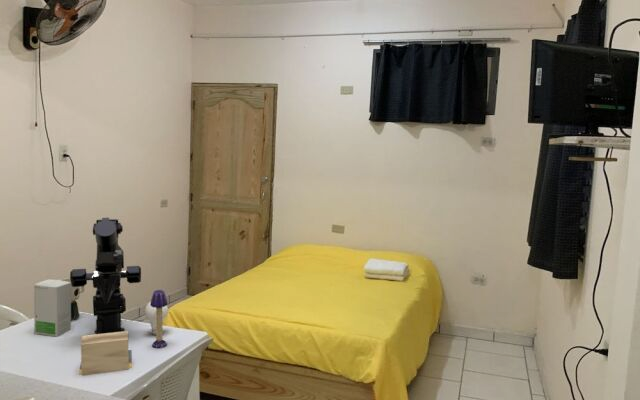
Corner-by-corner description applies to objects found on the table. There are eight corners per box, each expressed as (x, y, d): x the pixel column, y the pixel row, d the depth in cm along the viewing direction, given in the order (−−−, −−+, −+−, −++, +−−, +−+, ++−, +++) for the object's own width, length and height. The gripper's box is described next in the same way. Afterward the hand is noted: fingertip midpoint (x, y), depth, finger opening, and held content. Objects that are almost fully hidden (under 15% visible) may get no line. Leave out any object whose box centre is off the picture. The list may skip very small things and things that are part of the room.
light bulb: (148, 330, 157) (147, 296, 156) (170, 330, 158) (169, 296, 156) (142, 339, 151) (142, 303, 149) (165, 339, 151) (165, 303, 150)
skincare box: (34, 334, 152) (31, 284, 150) (50, 326, 159) (48, 278, 157) (57, 337, 150) (55, 286, 149) (73, 329, 157) (71, 280, 155)
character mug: (56, 326, 159) (54, 286, 157) (46, 320, 163) (44, 281, 162) (90, 317, 167) (89, 279, 166) (79, 312, 172) (78, 275, 170)
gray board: (82, 357, 138) (82, 355, 138) (131, 351, 142) (131, 349, 142) (78, 375, 127) (78, 374, 127) (131, 369, 131) (131, 367, 131)
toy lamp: (171, 347, 145) (170, 291, 143) (156, 352, 142) (155, 294, 140) (162, 342, 149) (161, 287, 147) (147, 347, 145) (146, 290, 143)
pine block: (83, 365, 132) (82, 335, 131) (128, 359, 136) (128, 331, 135) (81, 375, 126) (80, 344, 126) (128, 369, 130) (128, 339, 129)
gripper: (69, 241, 141) (66, 291, 132) (140, 239, 148) (142, 286, 139) (73, 262, 149) (70, 310, 140) (140, 259, 156) (141, 304, 147)
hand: (106, 302), depth 141 cm, fingers closed
